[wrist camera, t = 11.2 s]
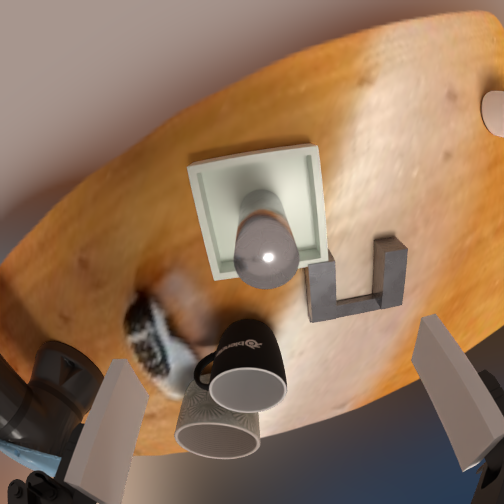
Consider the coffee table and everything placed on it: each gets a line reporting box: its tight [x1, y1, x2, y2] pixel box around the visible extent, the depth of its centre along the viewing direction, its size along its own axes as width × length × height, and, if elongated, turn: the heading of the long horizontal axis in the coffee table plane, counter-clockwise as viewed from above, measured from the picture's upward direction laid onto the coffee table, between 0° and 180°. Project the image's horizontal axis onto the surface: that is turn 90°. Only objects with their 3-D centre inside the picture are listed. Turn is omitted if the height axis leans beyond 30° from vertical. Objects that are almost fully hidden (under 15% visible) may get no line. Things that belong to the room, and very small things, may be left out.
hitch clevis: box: [305, 237, 408, 323], centre depth 35 cm, size 12×10×4 cm
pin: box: [234, 189, 300, 289], centre depth 26 cm, size 5×5×12 cm
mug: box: [194, 319, 287, 413], centre depth 36 cm, size 12×9×10 cm
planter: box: [174, 373, 260, 459], centre depth 40 cm, size 12×12×11 cm
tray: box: [187, 143, 328, 281], centre depth 31 cm, size 13×13×3 cm
